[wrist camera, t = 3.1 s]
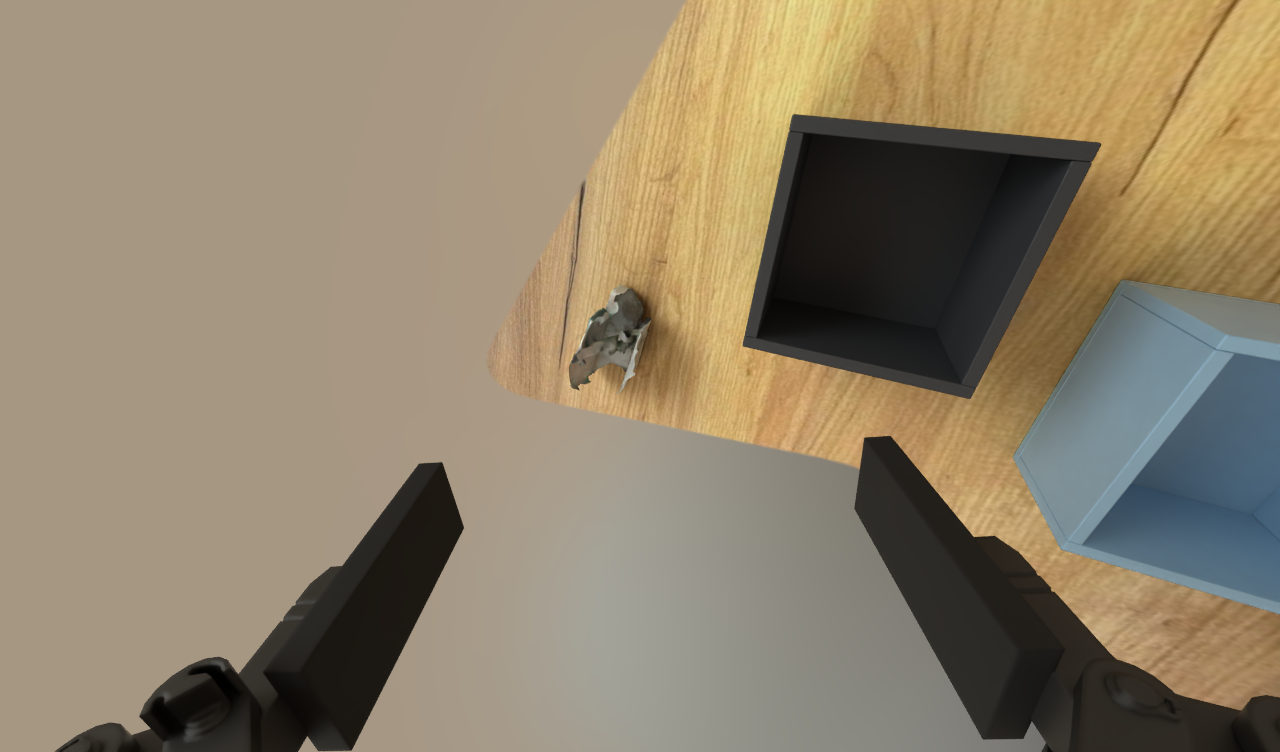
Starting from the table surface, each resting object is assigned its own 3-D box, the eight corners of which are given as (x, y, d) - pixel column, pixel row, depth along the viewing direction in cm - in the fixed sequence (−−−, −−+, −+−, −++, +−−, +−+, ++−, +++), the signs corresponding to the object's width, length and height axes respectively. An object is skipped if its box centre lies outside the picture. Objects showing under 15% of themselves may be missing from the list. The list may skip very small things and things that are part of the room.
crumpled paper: (590, 369, 37) (543, 413, 31) (616, 278, 33) (569, 310, 27) (637, 393, 36) (599, 442, 31) (671, 303, 32) (634, 341, 26)
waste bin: (804, 118, 25) (792, 113, 18) (1028, 139, 22) (1102, 143, 16) (763, 300, 30) (742, 346, 23) (940, 336, 27) (970, 399, 21)
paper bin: (1120, 278, 23) (1226, 334, 17) (1439, 328, 20) (1717, 420, 14) (1011, 457, 28) (1060, 550, 22) (1248, 518, 25) (1382, 645, 19)
